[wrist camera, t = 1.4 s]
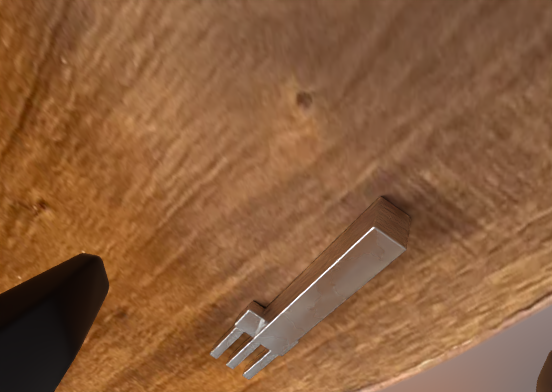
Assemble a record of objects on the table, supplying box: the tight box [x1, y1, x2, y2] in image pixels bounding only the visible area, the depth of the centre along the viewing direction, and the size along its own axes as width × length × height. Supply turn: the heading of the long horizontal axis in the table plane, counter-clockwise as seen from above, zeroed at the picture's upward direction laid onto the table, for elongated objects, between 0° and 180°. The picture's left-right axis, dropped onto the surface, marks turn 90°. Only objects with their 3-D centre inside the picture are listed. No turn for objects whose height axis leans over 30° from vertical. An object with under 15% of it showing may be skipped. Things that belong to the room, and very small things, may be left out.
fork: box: [210, 197, 411, 380], centre depth 27 cm, size 17×4×2 cm, turn 149°
